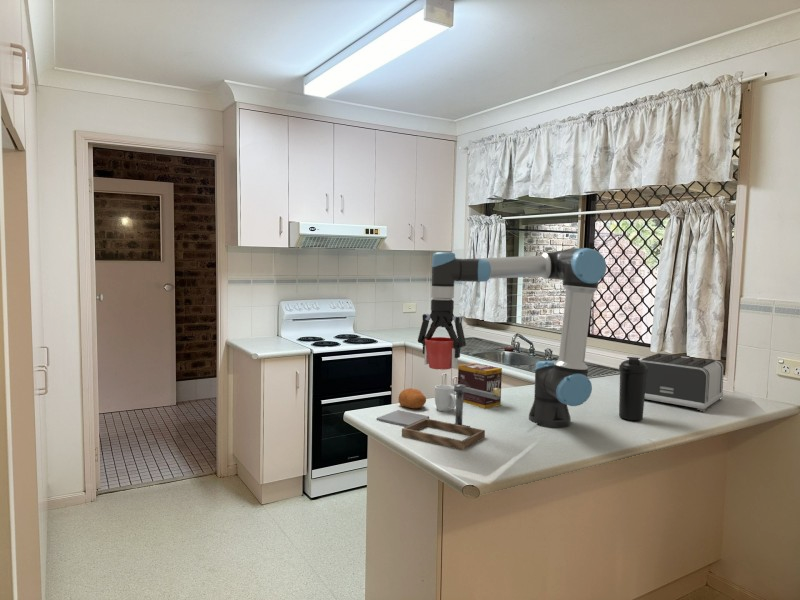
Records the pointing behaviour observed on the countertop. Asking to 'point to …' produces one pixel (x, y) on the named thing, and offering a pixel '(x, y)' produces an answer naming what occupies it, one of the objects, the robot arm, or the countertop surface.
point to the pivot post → (459, 408)
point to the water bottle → (632, 388)
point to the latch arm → (478, 391)
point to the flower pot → (439, 352)
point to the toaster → (683, 380)
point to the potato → (412, 398)
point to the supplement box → (480, 383)
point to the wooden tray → (413, 433)
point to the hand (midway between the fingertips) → (440, 365)
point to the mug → (445, 397)
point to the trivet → (402, 418)
